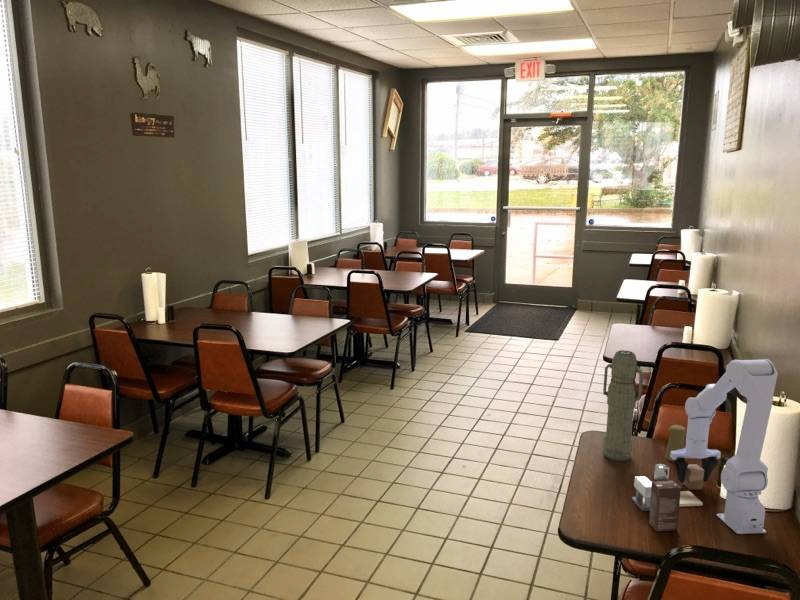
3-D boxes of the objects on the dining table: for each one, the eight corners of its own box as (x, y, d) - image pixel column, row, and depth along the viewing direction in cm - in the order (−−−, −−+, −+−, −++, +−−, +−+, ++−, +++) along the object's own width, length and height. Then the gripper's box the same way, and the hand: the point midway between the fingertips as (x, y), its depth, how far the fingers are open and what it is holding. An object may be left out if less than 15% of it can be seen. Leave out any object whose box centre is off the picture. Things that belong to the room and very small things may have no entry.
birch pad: (702, 505, 178) (702, 503, 178) (678, 506, 177) (678, 503, 177) (689, 493, 185) (689, 491, 185) (665, 494, 184) (666, 491, 184)
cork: (660, 456, 210) (663, 424, 208) (674, 453, 213) (677, 421, 211) (675, 463, 205) (678, 431, 203) (689, 460, 207) (692, 428, 205)
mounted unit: (655, 510, 175) (657, 486, 174) (642, 511, 175) (644, 487, 173) (644, 499, 181) (646, 476, 180) (631, 499, 181) (633, 476, 180)
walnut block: (702, 489, 188) (704, 470, 187) (689, 489, 187) (691, 470, 186) (694, 482, 192) (696, 464, 191) (682, 483, 191) (684, 464, 190)
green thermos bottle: (635, 463, 204) (645, 357, 198) (597, 457, 208) (605, 353, 202) (636, 453, 212) (645, 351, 206) (599, 447, 216) (607, 347, 210)
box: (668, 522, 169) (673, 479, 167) (677, 531, 165) (682, 487, 162) (647, 522, 168) (651, 480, 166) (655, 532, 164) (659, 488, 162)
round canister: (670, 482, 192) (672, 469, 191) (658, 482, 192) (659, 469, 191) (664, 476, 196) (665, 463, 195) (651, 476, 196) (652, 464, 195)
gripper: (712, 431, 191) (708, 474, 194) (666, 432, 190) (662, 475, 192) (726, 441, 185) (721, 484, 187) (679, 442, 183) (674, 486, 186)
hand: (692, 480), depth 189 cm, fingers open, 7 cm apart
